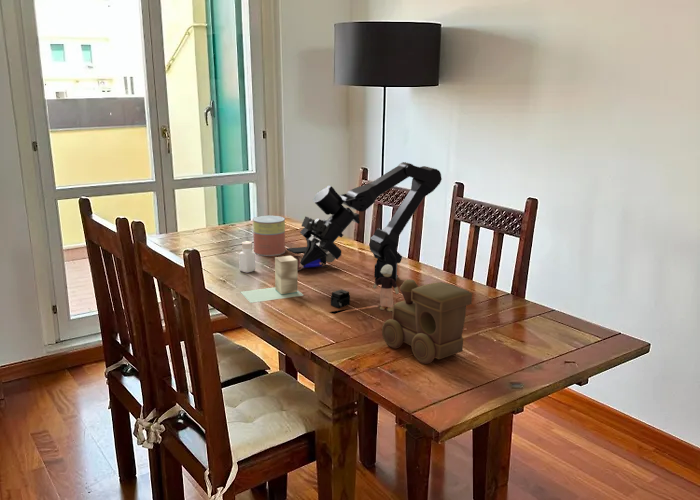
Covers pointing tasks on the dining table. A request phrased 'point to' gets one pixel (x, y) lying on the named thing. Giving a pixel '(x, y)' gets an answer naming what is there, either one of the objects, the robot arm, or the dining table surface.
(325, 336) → the dining table surface
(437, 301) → the wooden toy train
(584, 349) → the dining table surface
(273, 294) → the mat
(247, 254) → the pepper shaker
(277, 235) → the canned food
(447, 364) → the dining table surface
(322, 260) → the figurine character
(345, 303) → the black boxy device
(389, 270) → the grandmother figurine
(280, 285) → the maple block
